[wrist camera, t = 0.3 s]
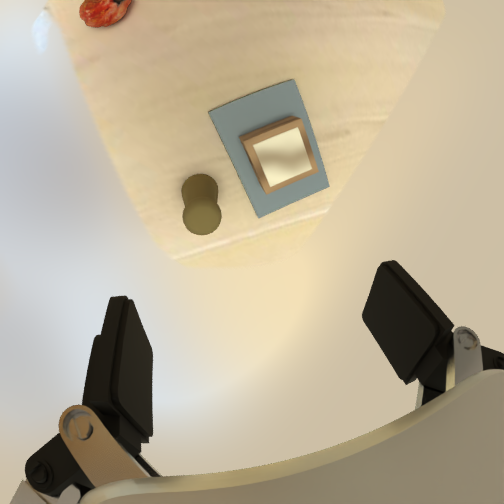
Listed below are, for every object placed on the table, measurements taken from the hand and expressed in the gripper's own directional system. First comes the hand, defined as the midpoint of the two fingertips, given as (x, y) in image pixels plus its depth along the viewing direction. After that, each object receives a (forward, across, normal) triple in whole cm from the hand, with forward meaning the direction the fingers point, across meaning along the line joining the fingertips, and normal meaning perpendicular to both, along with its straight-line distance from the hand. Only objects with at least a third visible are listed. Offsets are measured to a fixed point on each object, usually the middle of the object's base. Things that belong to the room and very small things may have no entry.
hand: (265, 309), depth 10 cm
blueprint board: (+35, -11, +2) cm, 37 cm away
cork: (+36, +2, +8) cm, 37 cm away
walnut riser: (+34, -11, +2) cm, 36 cm away
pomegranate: (+35, +14, -25) cm, 45 cm away
